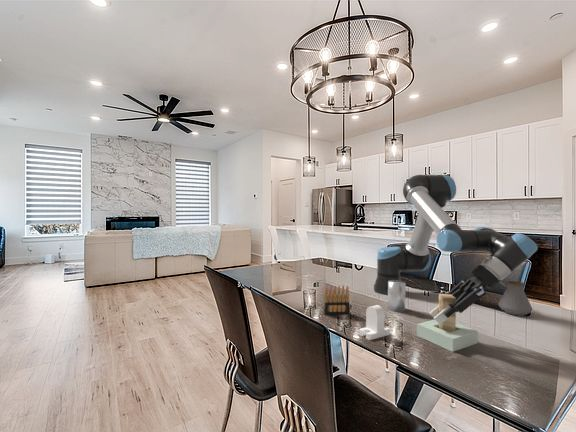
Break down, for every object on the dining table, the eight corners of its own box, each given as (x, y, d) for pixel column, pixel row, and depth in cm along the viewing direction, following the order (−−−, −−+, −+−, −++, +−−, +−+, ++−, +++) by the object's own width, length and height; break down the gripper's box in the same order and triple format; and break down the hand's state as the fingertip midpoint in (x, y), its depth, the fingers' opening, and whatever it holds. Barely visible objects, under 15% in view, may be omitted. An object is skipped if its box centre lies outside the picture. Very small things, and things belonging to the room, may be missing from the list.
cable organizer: (390, 334, 102) (390, 306, 102) (369, 340, 97) (369, 310, 97) (379, 328, 107) (379, 301, 107) (358, 334, 102) (358, 306, 102)
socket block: (441, 328, 107) (441, 317, 107) (477, 343, 95) (478, 331, 95) (416, 335, 101) (417, 324, 101) (452, 351, 90) (452, 339, 90)
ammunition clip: (348, 312, 123) (348, 284, 123) (349, 314, 121) (350, 285, 121) (323, 313, 123) (323, 285, 122) (324, 314, 121) (324, 286, 120)
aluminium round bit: (395, 305, 133) (396, 279, 132) (408, 310, 126) (409, 282, 126) (384, 307, 129) (384, 281, 129) (396, 313, 123) (397, 284, 123)
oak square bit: (438, 328, 101) (438, 293, 100) (451, 329, 100) (451, 294, 100) (442, 333, 97) (442, 297, 96) (455, 334, 96) (455, 298, 96)
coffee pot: (539, 316, 119) (540, 280, 119) (516, 318, 117) (517, 281, 117) (493, 300, 140) (494, 269, 140) (473, 301, 138) (473, 270, 138)
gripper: (470, 259, 104) (420, 302, 108) (493, 269, 87) (433, 319, 91) (486, 275, 103) (435, 317, 107) (513, 287, 86) (452, 338, 90)
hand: (434, 318), depth 99 cm, fingers closed on oak square bit, 4 cm apart
